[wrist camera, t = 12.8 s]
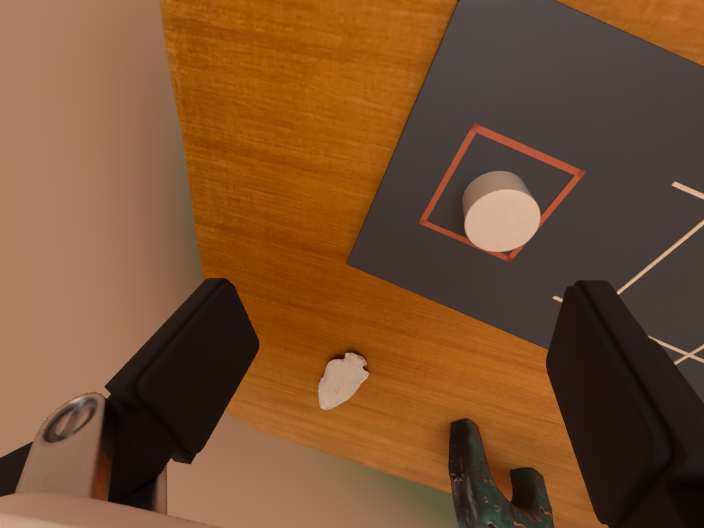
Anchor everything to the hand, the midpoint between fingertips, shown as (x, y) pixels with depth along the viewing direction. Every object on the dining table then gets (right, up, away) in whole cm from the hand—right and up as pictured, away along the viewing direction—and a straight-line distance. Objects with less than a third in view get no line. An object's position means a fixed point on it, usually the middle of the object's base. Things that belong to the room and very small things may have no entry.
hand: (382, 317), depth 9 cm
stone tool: (-2, -15, +37) cm, 40 cm away
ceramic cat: (+21, -27, +39) cm, 51 cm away
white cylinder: (+11, +7, +17) cm, 21 cm away
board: (+28, 0, +18) cm, 33 cm away
